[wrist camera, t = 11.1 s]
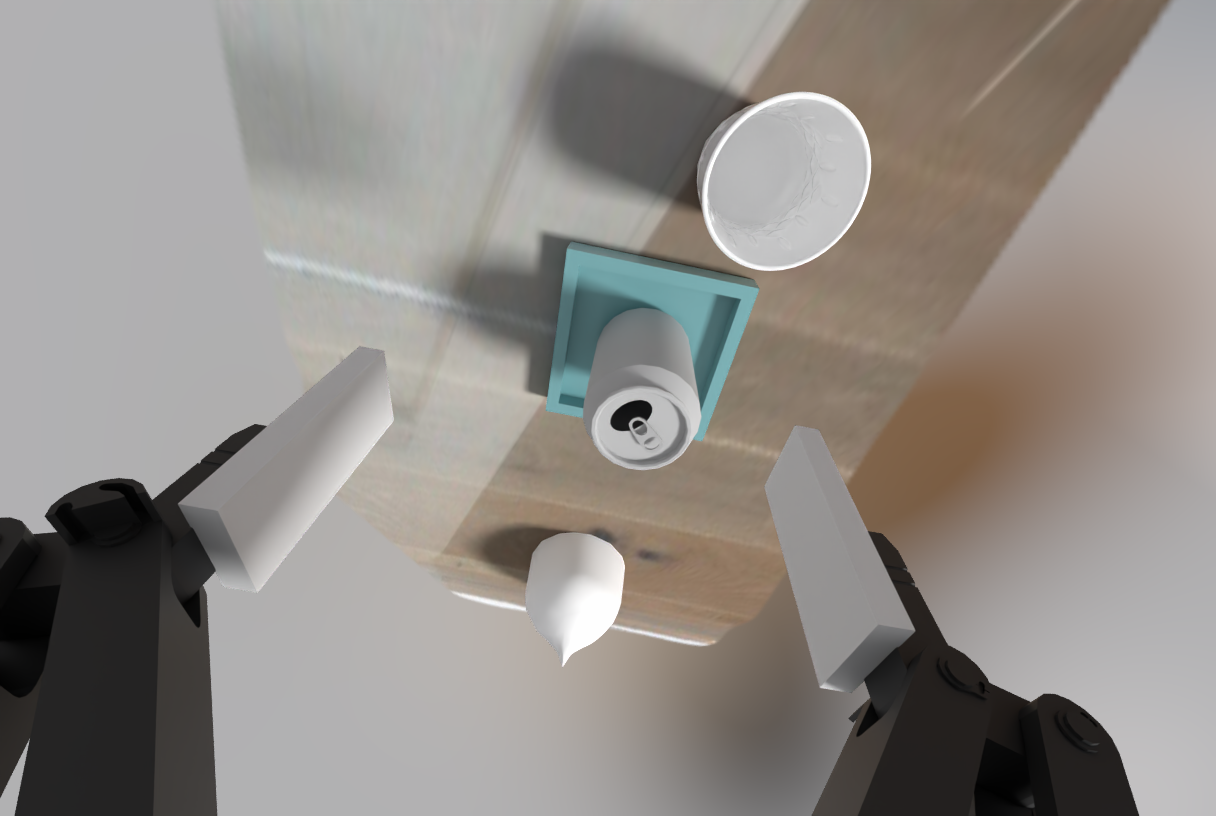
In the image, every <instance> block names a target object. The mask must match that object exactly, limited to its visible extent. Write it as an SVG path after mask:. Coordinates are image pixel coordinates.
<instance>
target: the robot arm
mask: <svg viewBox="0 0 1216 816" xmlns="http://www.w3.org/2000/svg"><path fill="white" fill-rule="evenodd" d="M393 421H394V419H393V412H392V405H391V397H390V390H389V383H388V376H387V368H386V361H385V354H384V351H382V350H377V349H371V348H366V347H360V346H359V347H358V348H357V349H356V350H355V351H354V352H352V353H351V354H350V355H349V356H348V357H347V358H346V359H344V360H343V361H342V362H341V363H340V364H339V365H337V366H336V367H335V368H334V369H333V370H332V371H331V372H329V373H328V374H327V375H326V376H325V377H324V378H322V379H321V380H320V381H319V382H318V383H317V384H316V385H314V386H313V387H312V388H311V389H310V390H309V391H307V392H306V393H305V394H304V395H303V396H302V397H301V398H299V399H298V400H297V401H296V402H295V403H294V404H293V405H291V406H290V407H289V408H288V409H287V410H286V411H284V412H283V413H282V414H281V415H280V416H279V417H278V418H276V419H275V420H274V421H273V422H272V423H270V425H268V426H264V425H258V424H254V425H252V426H250V427H248V428H246V429H244V430H242V431H239V432H237V433H235V434H233V435H232V436H230V437H229V438H228V439H227V440H225V441H224V442H223V443H222V444H221V445H219V446H218V447H217V448H216V449H215V451H214V452H211V453H210V454H208V455H207V456H206V457H205V458H203V459H202V460H201V463H200V464H199V463H197V464H196V465H195V466H193V467H192V468H191V469H190V470H189V471H187V472H186V473H185V474H184V475H182V476H181V477H180V478H179V479H178V480H176V481H175V482H174V483H173V484H171V485H170V486H169V487H168V488H166V489H165V490H164V491H163V492H162V493H160V494H159V495H158V496H157V497H155V498H154V499H153V500H152V499H151V498H150V496H149V494H148V493H147V491H146V489H145V488H144V486H143V484H141V483H139V482H137V481H135V480H133V479H122V478H116V479H110V480H102V481H98V482H95V483H92V484H88V485H85V486H82V487H80V488H78V489H76V490H74V491H72V492H70V493H68V494H66V495H64V496H63V497H62V498H60V499H59V500H58V501H57V502H55V503H54V504H53V505H52V506H51V507H50V508H49V510H48V512H47V513H46V515H45V517H46V518H47V520H48V521H49V522H50V523H51V525H52V526H53V527H54V528H55V530H56V531H57V532H54V533H42V534H32V533H31V531H30V530H29V529H28V528H27V527H26V525H25V524H24V523H23V522H22V521H20V520H17V519H13V518H10V517H9V518H0V797H1V795H2V793H3V791H4V789H5V787H6V785H7V783H8V781H9V779H10V777H11V775H12V773H13V771H14V769H15V767H16V765H17V763H18V761H19V759H20V757H21V755H22V753H23V751H24V749H25V747H26V744H27V743H28V741H29V739H30V741H29V746H28V751H27V757H26V761H25V766H24V771H23V776H22V781H21V786H20V791H19V796H18V801H17V806H16V811H15V816H217V801H216V780H215V760H214V739H213V717H212V696H211V675H210V654H209V635H208V634H209V633H208V612H207V594H206V591H205V589H204V587H203V584H204V583H205V582H206V581H207V580H208V579H209V578H210V577H211V576H212V574H213V573H214V572H216V574H217V576H218V578H219V580H220V581H221V583H222V585H223V587H226V588H233V589H238V590H244V591H250V592H256V593H257V592H258V591H259V590H260V589H261V588H262V586H263V585H264V584H265V583H266V581H267V580H268V579H269V578H270V576H271V575H272V574H273V573H274V571H275V570H276V569H277V568H278V566H279V565H280V564H281V562H282V561H283V560H284V559H285V557H286V556H287V555H288V553H289V552H290V551H291V550H292V548H293V547H294V546H295V545H296V544H297V542H298V541H299V540H300V538H301V537H302V536H303V535H304V533H305V532H306V531H307V530H308V528H309V527H310V526H311V525H312V523H313V522H314V521H315V520H316V518H317V517H318V515H319V514H320V513H321V512H322V511H323V509H324V508H325V507H326V506H327V504H328V503H329V502H330V501H331V499H332V498H333V497H334V495H335V494H336V493H337V492H338V490H339V489H340V488H341V487H342V485H343V484H344V483H345V482H346V480H347V479H348V478H349V477H350V475H351V474H352V473H353V471H354V470H355V469H356V468H357V466H358V465H359V464H360V463H361V461H362V460H363V459H364V458H365V456H366V455H367V454H368V453H369V451H370V450H371V449H372V447H373V446H374V445H375V444H376V442H377V441H378V440H379V439H380V437H381V436H382V435H383V434H384V432H385V431H386V430H387V429H388V427H389V426H390V425H391V423H392V422H393ZM764 487H765V491H766V494H767V498H768V502H769V505H770V509H771V512H772V516H773V520H774V523H775V527H776V531H777V534H778V538H779V541H780V545H781V549H782V552H783V556H784V559H785V563H786V567H787V570H788V574H789V578H790V581H791V585H792V588H793V592H794V596H795V599H796V603H797V607H798V610H799V614H800V617H801V620H802V625H803V628H804V632H805V636H806V639H807V643H808V646H809V650H810V654H811V657H812V661H813V664H814V668H815V672H816V675H817V679H818V682H819V686H820V688H825V689H831V690H837V691H843V692H849V693H852V692H853V691H854V690H855V689H856V688H857V687H858V686H859V685H860V684H861V683H863V682H864V681H865V683H866V686H867V689H868V692H869V695H870V699H869V700H867V701H866V702H865V703H864V704H863V705H862V706H861V707H860V708H859V709H858V710H856V711H855V712H854V713H853V714H852V715H851V716H850V717H849V719H850V720H851V721H852V722H854V721H855V720H856V719H857V720H856V723H855V725H854V726H853V729H852V731H851V733H850V735H849V737H848V739H847V741H846V744H845V746H844V748H843V750H842V752H841V755H840V757H839V758H838V761H837V763H836V765H835V767H834V769H833V771H832V773H831V775H830V778H829V780H828V782H827V784H826V786H825V788H824V790H823V793H822V795H821V797H820V799H819V801H818V803H817V805H816V807H815V810H814V812H813V814H812V816H1139V814H1138V811H1137V807H1136V804H1135V801H1134V798H1133V795H1132V791H1131V788H1130V786H1129V782H1128V779H1127V776H1126V773H1125V769H1124V767H1123V763H1122V760H1121V757H1120V754H1119V752H1118V750H1117V748H1116V746H1115V744H1114V742H1113V740H1112V738H1111V737H1110V736H1109V734H1108V733H1107V732H1106V731H1105V729H1104V728H1103V727H1102V726H1101V725H1100V723H1099V722H1098V721H1096V720H1095V719H1094V718H1093V717H1092V716H1091V715H1090V714H1089V713H1088V712H1087V711H1085V710H1084V709H1083V708H1081V707H1080V706H1078V705H1077V704H1075V703H1074V702H1072V701H1070V700H1069V699H1066V698H1064V697H1061V696H1059V695H1056V694H1043V695H1041V696H1040V697H1038V698H1037V699H1035V700H1033V701H1032V702H1029V701H1027V700H1025V699H1023V698H1021V697H1018V696H1016V695H1014V694H1012V693H1010V692H1008V691H1006V690H1004V689H1001V688H999V687H997V686H995V685H993V684H991V683H989V681H988V679H987V677H986V676H985V675H984V673H983V672H982V671H981V670H980V668H979V667H978V666H977V665H976V664H975V663H974V662H973V661H971V659H969V658H968V657H967V656H966V655H965V654H963V653H962V652H960V651H958V650H956V649H955V648H953V647H951V646H948V644H947V643H946V641H945V639H944V637H943V635H942V633H941V631H940V630H939V628H938V626H937V624H936V622H935V620H934V618H933V616H932V614H931V612H930V611H929V609H928V607H927V605H926V603H925V601H924V599H923V597H922V595H921V593H920V592H919V590H918V588H917V587H915V582H914V580H913V578H912V577H911V575H910V573H909V572H907V567H906V565H905V563H904V561H903V559H902V557H901V556H900V554H899V552H898V550H897V549H896V548H895V547H894V546H893V545H892V544H891V543H890V542H889V541H888V540H887V538H886V537H885V536H884V535H883V534H881V533H876V532H869V531H867V529H866V527H865V525H864V523H863V521H862V519H861V517H860V515H859V513H858V510H857V508H856V506H855V504H854V502H853V500H852V498H851V496H850V494H849V492H848V490H847V488H846V486H845V483H844V481H843V479H842V477H841V475H840V473H839V471H838V469H837V467H836V465H835V463H834V461H833V459H832V457H831V454H830V452H829V450H828V448H827V446H826V444H825V442H824V440H823V438H822V436H821V434H820V432H819V430H818V429H813V428H807V427H802V426H796V425H795V426H794V428H793V430H792V432H791V434H790V436H789V438H788V440H787V442H786V444H785V446H784V448H783V450H782V452H781V454H780V456H779V458H778V460H777V462H776V464H775V466H774V468H773V470H772V472H771V474H770V476H769V478H768V480H767V482H766V484H765V486H764Z"/></svg>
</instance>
